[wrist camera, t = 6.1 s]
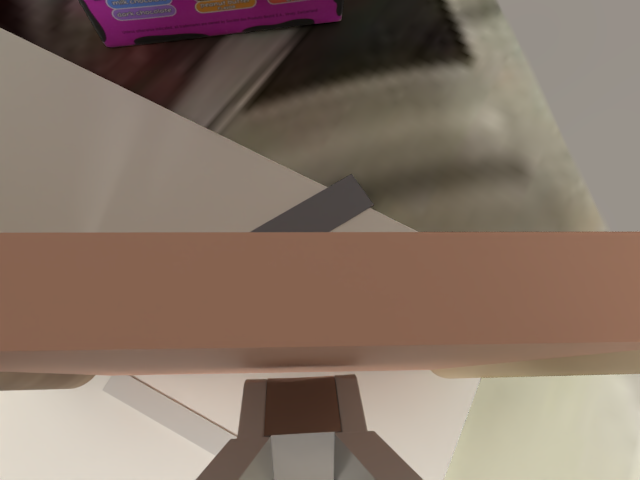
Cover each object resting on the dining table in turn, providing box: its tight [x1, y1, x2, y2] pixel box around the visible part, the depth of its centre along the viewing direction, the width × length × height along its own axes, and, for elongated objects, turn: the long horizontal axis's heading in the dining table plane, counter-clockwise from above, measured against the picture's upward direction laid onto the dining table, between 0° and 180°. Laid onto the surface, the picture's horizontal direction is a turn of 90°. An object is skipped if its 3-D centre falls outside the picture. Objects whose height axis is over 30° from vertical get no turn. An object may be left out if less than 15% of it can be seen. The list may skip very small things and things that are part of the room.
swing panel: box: [0, 232, 640, 379], centre depth 9 cm, size 12×2×12 cm, turn 91°
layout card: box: [0, 28, 481, 480], centre depth 16 cm, size 26×16×1 cm, turn 63°
